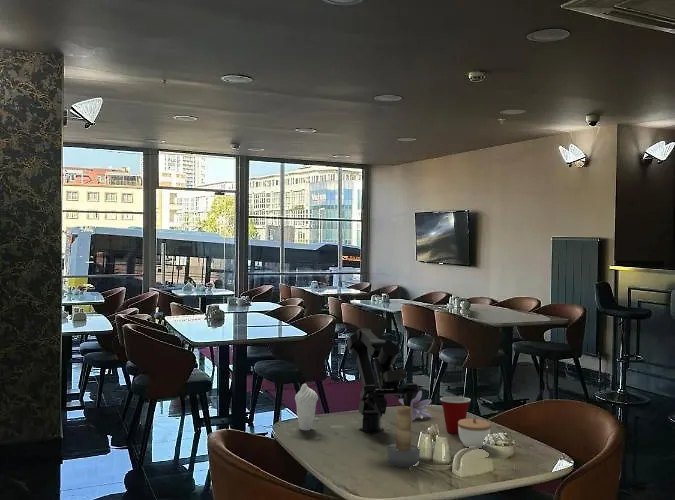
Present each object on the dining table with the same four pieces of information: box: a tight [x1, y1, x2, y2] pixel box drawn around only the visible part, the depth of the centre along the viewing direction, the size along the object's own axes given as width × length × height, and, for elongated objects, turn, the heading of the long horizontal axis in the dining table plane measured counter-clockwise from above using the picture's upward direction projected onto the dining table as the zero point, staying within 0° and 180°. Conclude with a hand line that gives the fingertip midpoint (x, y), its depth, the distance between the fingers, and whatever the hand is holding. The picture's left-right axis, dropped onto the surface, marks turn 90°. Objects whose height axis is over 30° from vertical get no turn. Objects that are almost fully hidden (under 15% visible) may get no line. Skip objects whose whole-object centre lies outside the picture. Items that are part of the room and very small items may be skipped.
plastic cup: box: [439, 396, 472, 435], centre depth 229 cm, size 11×11×12 cm
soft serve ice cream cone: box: [294, 383, 319, 431], centre depth 228 cm, size 8×8×16 cm
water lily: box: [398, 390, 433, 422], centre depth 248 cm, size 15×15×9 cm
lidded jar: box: [458, 417, 492, 448], centre depth 213 cm, size 11×11×9 cm
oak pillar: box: [395, 405, 412, 451], centre depth 196 cm, size 4×4×12 cm
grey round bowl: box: [386, 443, 421, 468], centre depth 196 cm, size 10×10×4 cm
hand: (395, 415), depth 204 cm, fingers open, 9 cm apart
